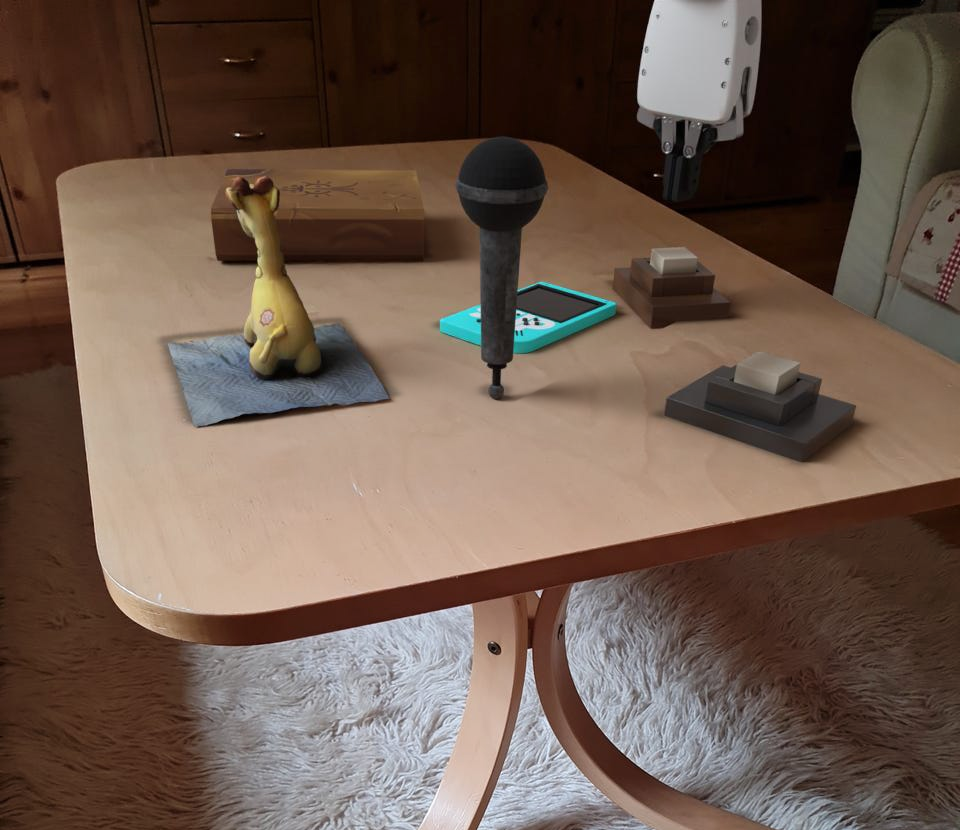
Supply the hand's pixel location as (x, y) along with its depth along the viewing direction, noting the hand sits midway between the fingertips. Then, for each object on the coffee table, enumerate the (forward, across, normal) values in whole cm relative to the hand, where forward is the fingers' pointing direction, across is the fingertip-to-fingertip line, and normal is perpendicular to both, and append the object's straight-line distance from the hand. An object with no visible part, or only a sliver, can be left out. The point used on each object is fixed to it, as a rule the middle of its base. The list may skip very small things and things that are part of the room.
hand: (678, 198), depth 97 cm
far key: (+7, 0, 0) cm, 7 cm away
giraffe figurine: (+11, +16, +38) cm, 43 cm away
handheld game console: (+11, +7, +13) cm, 19 cm away
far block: (+10, 0, 0) cm, 10 cm away
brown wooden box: (+11, +42, +8) cm, 44 cm away
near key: (+7, -21, +19) cm, 29 cm away
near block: (+10, -21, +19) cm, 30 cm away
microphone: (+11, -2, +29) cm, 31 cm away
